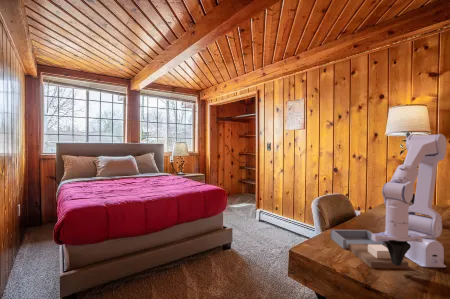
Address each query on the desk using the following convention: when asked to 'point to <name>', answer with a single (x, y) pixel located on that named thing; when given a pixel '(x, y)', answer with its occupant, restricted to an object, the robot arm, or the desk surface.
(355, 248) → the platform
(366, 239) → the box
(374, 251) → the tile
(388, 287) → the desk surface
